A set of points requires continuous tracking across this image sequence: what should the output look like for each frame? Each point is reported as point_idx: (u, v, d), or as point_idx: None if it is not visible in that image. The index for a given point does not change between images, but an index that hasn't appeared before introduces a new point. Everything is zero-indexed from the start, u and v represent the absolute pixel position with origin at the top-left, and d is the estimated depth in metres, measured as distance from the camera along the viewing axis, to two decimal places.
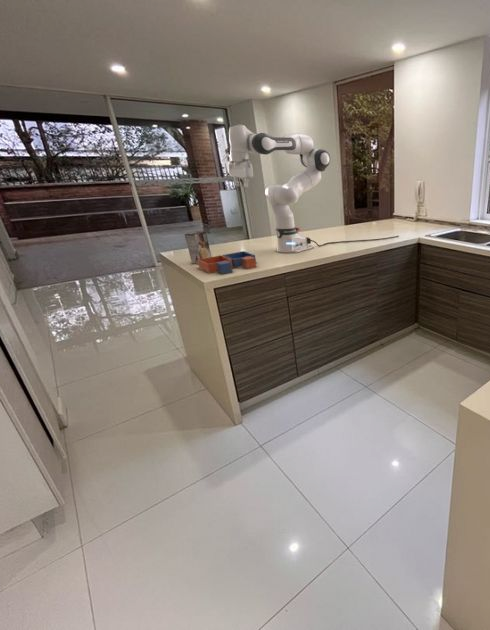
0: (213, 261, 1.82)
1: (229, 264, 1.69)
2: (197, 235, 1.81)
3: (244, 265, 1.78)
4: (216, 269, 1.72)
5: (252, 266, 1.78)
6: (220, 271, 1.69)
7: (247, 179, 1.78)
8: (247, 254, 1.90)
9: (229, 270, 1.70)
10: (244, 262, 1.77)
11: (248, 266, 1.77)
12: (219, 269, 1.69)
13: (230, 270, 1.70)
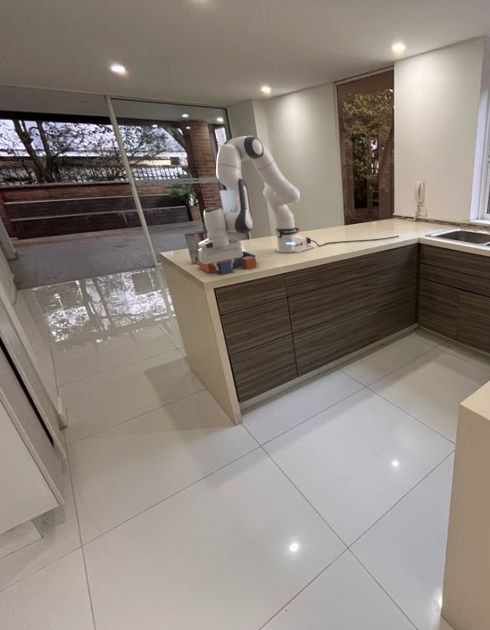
0: None
1: (229, 264, 1.69)
2: (197, 235, 1.81)
3: (244, 265, 1.78)
4: None
5: (252, 266, 1.78)
6: (220, 271, 1.69)
7: None
8: (247, 254, 1.90)
9: (229, 270, 1.70)
10: (244, 262, 1.77)
11: (248, 266, 1.77)
12: None
13: (230, 270, 1.70)
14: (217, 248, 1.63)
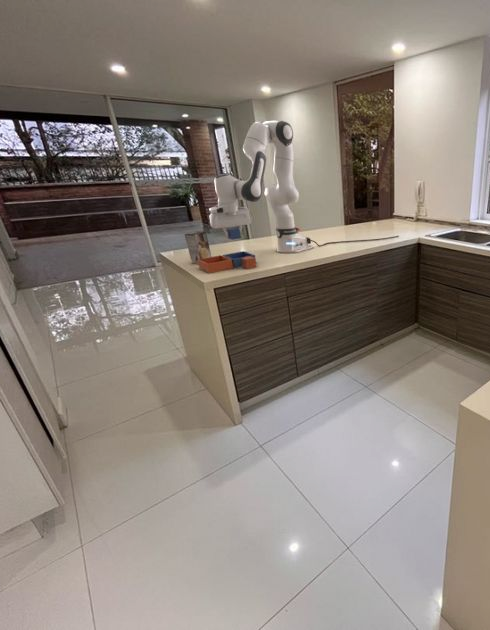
0: (213, 261, 1.82)
1: (238, 230, 1.78)
2: (197, 235, 1.81)
3: (244, 265, 1.78)
4: (216, 269, 1.72)
5: (252, 266, 1.78)
6: (229, 237, 1.77)
7: None
8: (247, 254, 1.90)
9: (238, 235, 1.79)
10: (244, 262, 1.77)
11: (248, 266, 1.77)
12: None
13: (239, 236, 1.79)
14: (227, 214, 1.72)
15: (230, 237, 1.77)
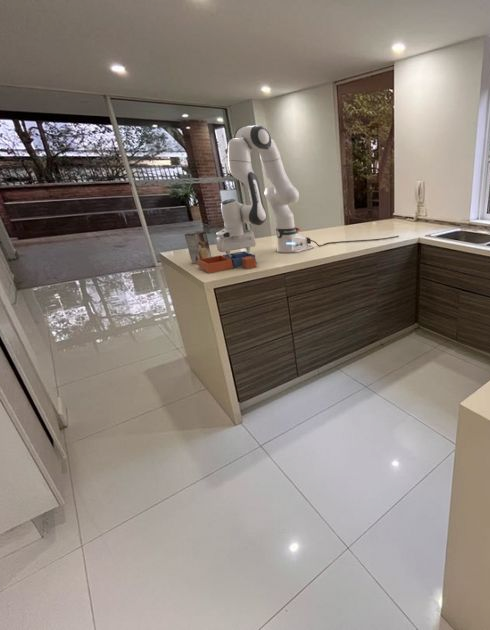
0: (213, 261, 1.82)
1: (243, 254, 1.84)
2: (197, 235, 1.81)
3: (244, 265, 1.78)
4: (216, 269, 1.72)
5: (252, 266, 1.78)
6: None
7: None
8: None
9: None
10: (244, 262, 1.77)
11: (248, 266, 1.77)
12: None
13: None
14: (233, 237, 1.78)
15: None
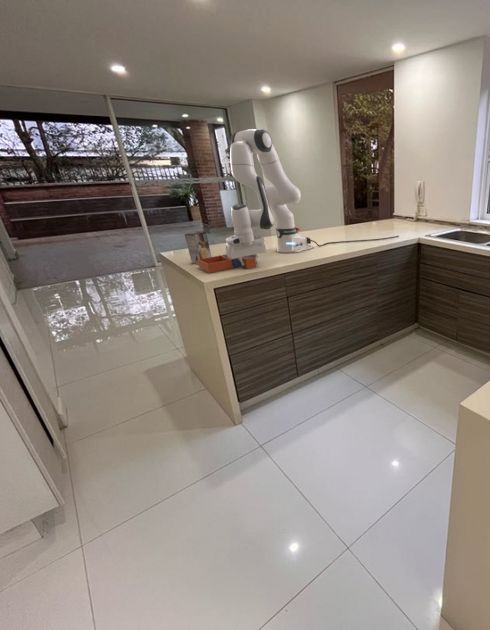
0: (213, 261, 1.82)
1: None
2: (197, 235, 1.81)
3: (244, 265, 1.78)
4: (216, 269, 1.72)
5: (252, 266, 1.78)
6: None
7: None
8: None
9: None
10: None
11: (248, 266, 1.77)
12: None
13: None
14: (243, 244, 1.72)
15: None
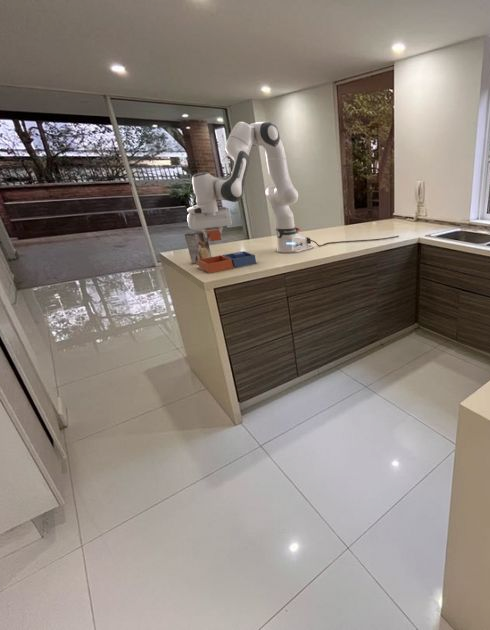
0: (213, 261, 1.82)
1: (243, 254, 1.84)
2: (197, 235, 1.81)
3: (208, 238, 1.70)
4: (216, 269, 1.72)
5: (217, 239, 1.71)
6: None
7: None
8: (247, 254, 1.90)
9: None
10: None
11: (212, 238, 1.69)
12: None
13: None
14: (206, 214, 1.64)
15: None
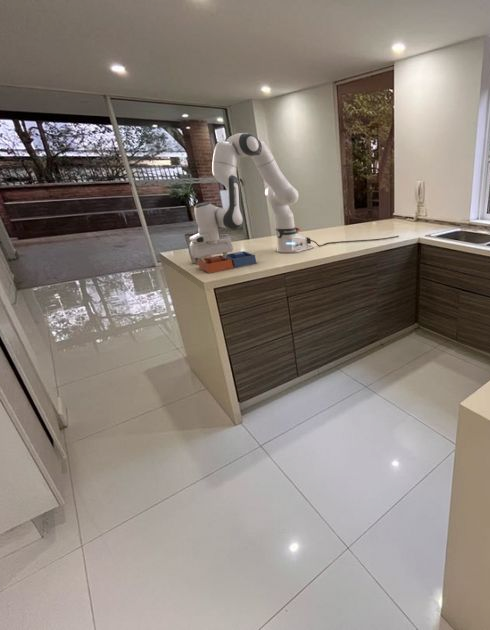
0: None
1: (243, 254, 1.84)
2: None
3: None
4: (216, 269, 1.72)
5: None
6: None
7: None
8: (247, 254, 1.90)
9: None
10: (209, 262, 1.75)
11: None
12: None
13: None
14: (207, 242, 1.70)
15: None
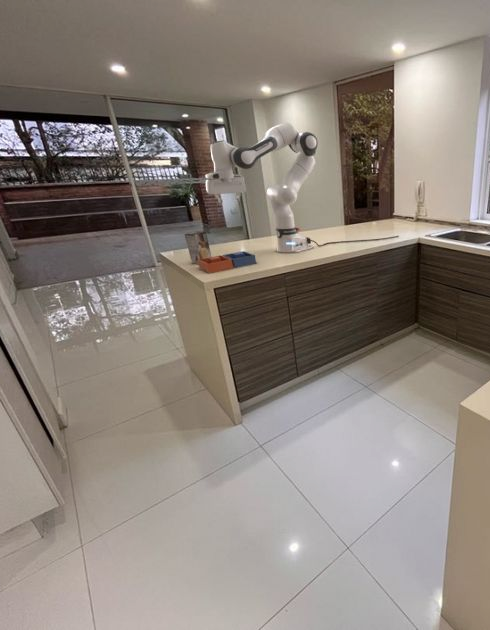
0: None
1: (243, 254, 1.84)
2: (197, 235, 1.81)
3: None
4: (216, 269, 1.72)
5: None
6: None
7: None
8: (247, 254, 1.90)
9: None
10: (209, 262, 1.75)
11: None
12: None
13: None
14: (223, 180, 1.77)
15: None
